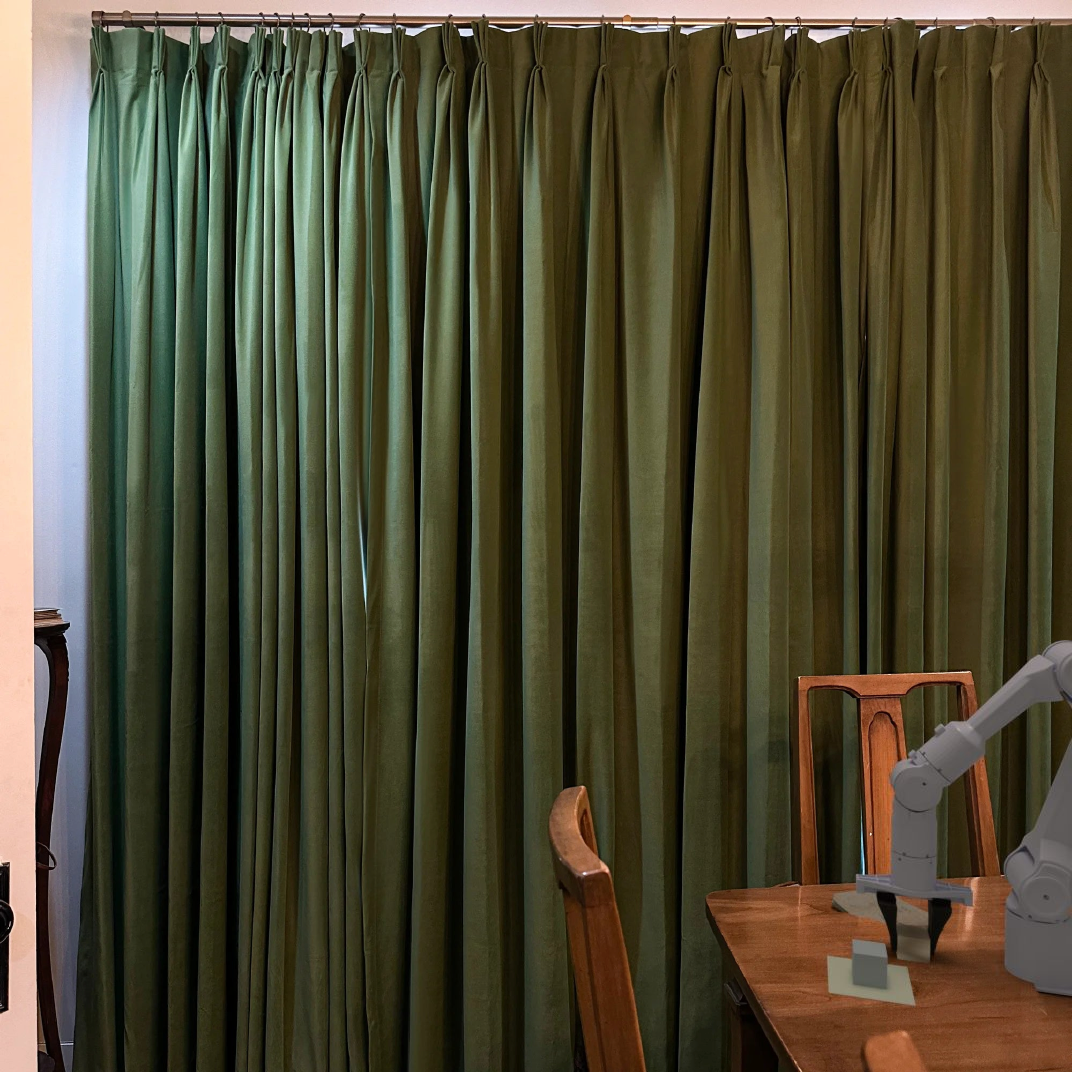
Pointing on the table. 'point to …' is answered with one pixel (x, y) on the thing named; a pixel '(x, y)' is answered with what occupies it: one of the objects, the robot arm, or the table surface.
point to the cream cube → (913, 943)
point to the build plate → (843, 985)
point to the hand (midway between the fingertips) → (912, 950)
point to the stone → (869, 908)
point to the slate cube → (869, 964)
